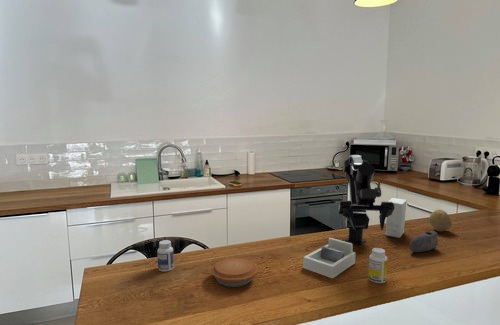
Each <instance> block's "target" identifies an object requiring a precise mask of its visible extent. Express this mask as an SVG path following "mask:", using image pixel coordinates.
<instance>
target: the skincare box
mask: <svg viewBox="0 0 500 325" xmlns="http://www.w3.org/2000/svg"><path fill="white" fill-rule="evenodd" d="M387 202H392V203H393V204H394V207H395V209H394V211H393V213H392V215H390V216H388V217H386V219H385V236H387V237H393V238H398V239H401V237H402V236H403V235H404V233H405V224H406V223H405V221H406V213H407V212H406V210H407V199H405V198H404V199H403V198H397V197H396V198H395V197H391V198H390V199H389V200H388V201H387Z"/></svg>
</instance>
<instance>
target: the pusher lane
mask: <svg viewBox="0 0 500 325" xmlns="http://www.w3.org/2000/svg"><path fill="white" fill-rule="evenodd" d="M324 246H326V247H329V248H332V249H336V250H339V251H342V252H344V257H343V258H342V259H340V260H338V261H337V262H333V261H330V260H327V259H324V258H321V248H322V246H321V247H319V248H318V249H315V250H314V251H312V252H310V253H309V254H307V255H305V256H303V258H302V260H303V261H302V262H303V263H302V268H303V269H305V270H308V271H310V272H314V273H316V274H320V275H322V276H325V277H328V278H330V279H334V278H335V277H337V276H339V275H340V274H341V273H343V272H344V271H345V270H348V268H350V267H351V266H353V265H354V264H356V252H355V251H353V250H354V249H353V246H354V243H350V242H346V241H344V240H341V239H336V238H333V237H328V243H327V244H326V245H324Z"/></svg>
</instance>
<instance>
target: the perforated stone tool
mask: <svg viewBox="0 0 500 325" xmlns="http://www.w3.org/2000/svg"><path fill="white" fill-rule="evenodd" d="M438 241H439V240H438V231H436V230H430V231H429V230H428V231H425V232H422V233H419V234H418V235H416V236H414V237H413V238H412V239H411V241H410V243H409V250H410V251H411V252H413V253H422V252H423V253H424V252H428V251H429V252H430V251H431V250H433V249H436V247H437V245H438V244H439V243H438Z"/></svg>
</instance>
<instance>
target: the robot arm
mask: <svg viewBox="0 0 500 325" xmlns="http://www.w3.org/2000/svg"><path fill="white" fill-rule="evenodd" d="M375 169H376V168H375V167H374V166H373V165H372V164H371V163H369V161H368V160H363V159H362V155H359V154H351V155H349V156H348V158H347V159H346V160H344V162H343V169H342V173H343V174H344V178H345V179H346V181H348V186H349V200H340V201H339V204H338V206H337V208H338V214H339V215H342V216H343V217H345V223H344V224H345V228H346V229H348V238H346V239H345V241H344V242H348V243H352V244H353V245H358V246H359V245H362V244H363V243H365V242H366V239H365V238H364V230H368V229H369V223H370V217H369V215H368V214H367V211H370V212H371V211H373V212H374V211H375V212H379V216H378V218H379V225H380V230H381V231H383V230H384V227H385V223H386V219H387V217H388V216H390V215H392V213H393V211H394V209H395V207H394V204H393V203H392V202H388V201H381V202H380V204H375V203H376V199H377V198H381V197H382V189H381V187H375V188H372V186H371V185H372V184H371V183H372V182H373V178H374V174H376V170H375Z"/></svg>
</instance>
